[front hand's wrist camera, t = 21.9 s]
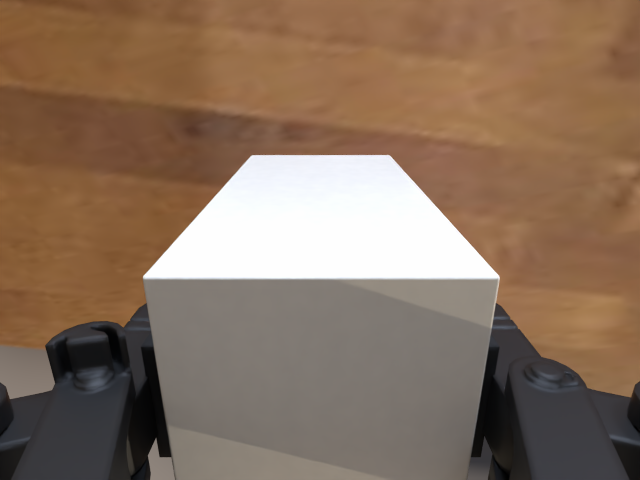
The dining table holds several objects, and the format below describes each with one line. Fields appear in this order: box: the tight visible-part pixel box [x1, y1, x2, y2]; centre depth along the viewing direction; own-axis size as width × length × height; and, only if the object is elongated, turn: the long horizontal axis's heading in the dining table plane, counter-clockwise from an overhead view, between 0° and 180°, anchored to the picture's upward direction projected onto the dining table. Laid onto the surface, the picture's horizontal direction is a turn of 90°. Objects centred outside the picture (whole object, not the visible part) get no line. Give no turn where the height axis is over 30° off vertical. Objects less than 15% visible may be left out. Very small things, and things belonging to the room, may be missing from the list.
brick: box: [143, 155, 500, 480], centre depth 12 cm, size 7×5×10 cm
